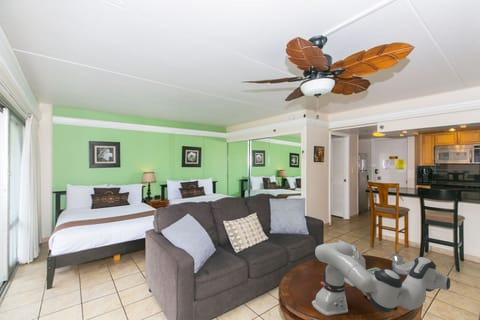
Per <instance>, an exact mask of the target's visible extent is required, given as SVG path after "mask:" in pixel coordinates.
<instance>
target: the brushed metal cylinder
mask: <svg viewBox="0 0 480 320" xmlns="http://www.w3.org/2000/svg"><path fill="white" fill-rule="evenodd" d="M391 258H392V259H391V260H392V263H396V265H401V264H403V262H404V257H403V255H400V254H397V253H394V254H392V257H391ZM392 271H394V272H395V273H397V272H396V271H395V266H393V265H392ZM397 274H398V275H399V276H404V275H403V274H400V273H397Z"/></svg>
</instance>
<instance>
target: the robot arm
mask: <svg viewBox="0 0 480 320" xmlns="http://www.w3.org/2000/svg"><path fill="white" fill-rule="evenodd" d="M346 242H347V241H344V242H339V241H338V242H335V241H334V242H330V243H328V242H327V243H323V244H319V245H317V246H316V247H315V250H314V251H315V252H314V254H315V257H316V259H317V260H318V261H319V262H320V263H321V262H322V263H324V264H327V266H326V267H325V280H324V281H321V282H320V285H322V286H323V287H322V288H321V289H320V290H319V291H318V292H317V293H316V296H315V299H313V300H312V301H311V305H312V307H313V308H314V309H315V310H316V311H317V312H319V313H320V314H322V315H324V316H326V317H327V316H334V315H339V314H346V313H349V309H348V306H349V305H348V303H347V297H346V282H345V281H344V275H345V276H346V277H347V279H348V280H349V281H350V282H351V283H352V284H353V285H355V286H354V287H355V288H357V289H358V290H359V291H361V293H362V292H365V293H369V292H371V291H372V292H371V294H370V300H369V302H370V303H371V305H372V306H373V307H374V308H375V309H376V310H378V311H379V312H382V313H390V312H392V311H398V306H399V307H402V308H404V309H406V310H410V311H412V310H417V309H419V307H422V305H423V304H424V303H425V302H426V298H427V292H429V293H430V292H434V291H435V290H436V289H440V290H441V289H442V290H444V291H447V290H449V289H450V288H451V279H450V277H449V276H448V275H446V274H444V273H442V272H440V271H438V270H437V265H436V263H435V262H434V261H433V259H430V258H429V257H424V256H418V257H417V258H415V259H414V261H413V260H412V261H408V262H407V261H403V264H401V265H396V263H393V262H392V264H391V265H392V267H393V266H395V271H396V272H397V273H400V274H403V275H402V276H406V277H405V279H404V280H403V278H402V277H401V275H398V274H397V273H395V272H394V271H393V269H392V270H391V269H389V268H383V269H382V268H380V269H381V270H379V271H375V272H374V275H373V274H370V273H369V272H368V271H367V270H368V269H367V268H366V269H365V268H364V267H363V266H362V265H360V264H359V263H358V262H357V261H356V260H355V259H354V258H353V257H352V256H353V255H354V251H353V248H352V246H351V245H350V244H351V243H349V242H347V243H346Z"/></svg>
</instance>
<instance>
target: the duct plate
mask: <svg viewBox="0 0 480 320" xmlns="http://www.w3.org/2000/svg"><path fill="white" fill-rule="evenodd" d="M381 269H382V268H379V267H372V268H368V269H366V270H367V271H368V272H369V273H370V274H373V275H374V272H375V271H379V270H381Z"/></svg>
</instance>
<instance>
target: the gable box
mask: <svg viewBox="0 0 480 320" xmlns="http://www.w3.org/2000/svg"><path fill="white" fill-rule="evenodd" d="M338 242H346V243H348V242H347V241H344V240H342V239H338ZM349 244H350V245H351V246H352V248H353V256H352V257H353V258H354V259H355V260H356V261H357V262H358V263H359V264H360V265H362V266H363V267H364V268H365V269H366V270H367V268H366V266H367V265H366V259H365V258H364V256H363V255H362V254H361V252H360V251H359V250H358V246H356V245H354V244H352V243H349ZM344 283H345V284H346V283H347V284H348V285H350V286H351V287H354V288H355V287H356V286H355V285H353V284H352V283H351V282H350V281H349V280H348V279H347V277H346V276H345V275H344Z"/></svg>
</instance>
